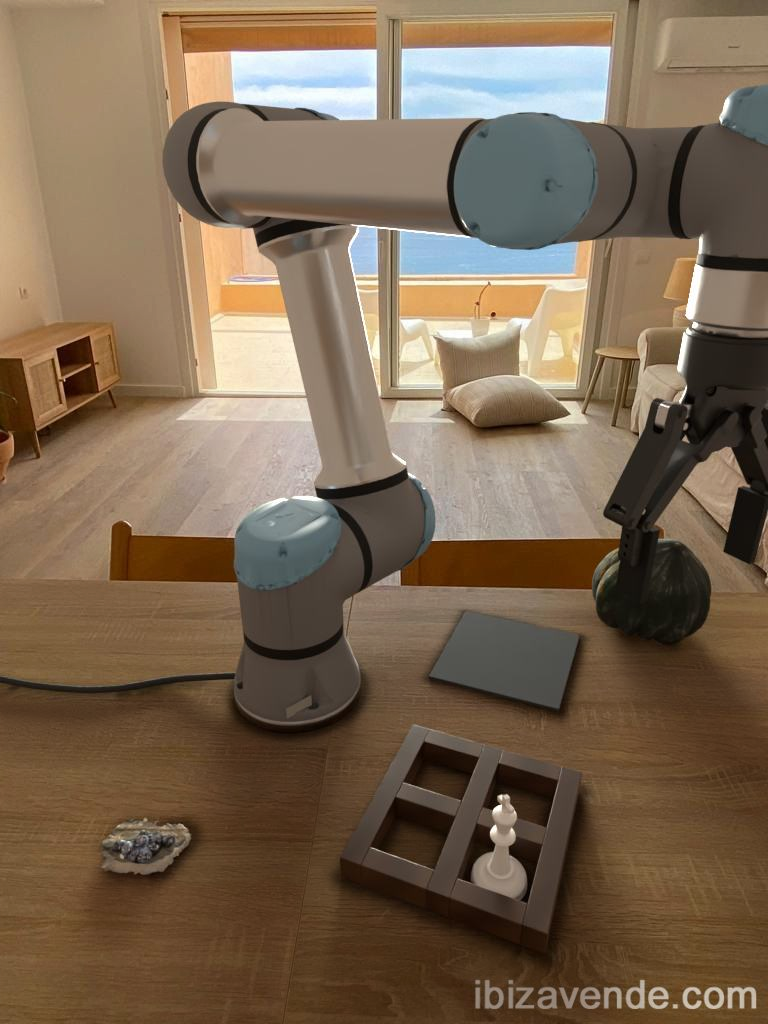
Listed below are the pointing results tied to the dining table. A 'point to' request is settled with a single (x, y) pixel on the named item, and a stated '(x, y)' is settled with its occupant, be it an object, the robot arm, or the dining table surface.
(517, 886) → the chess piece
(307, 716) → the robot arm
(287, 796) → the dining table surface
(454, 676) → the mat
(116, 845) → the blueberries
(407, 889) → the holder
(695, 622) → the squash
